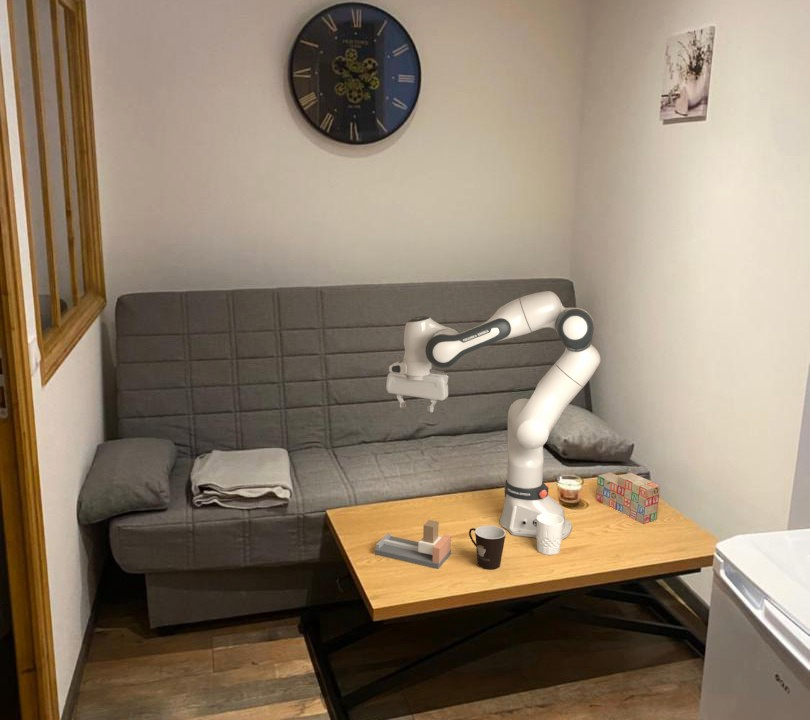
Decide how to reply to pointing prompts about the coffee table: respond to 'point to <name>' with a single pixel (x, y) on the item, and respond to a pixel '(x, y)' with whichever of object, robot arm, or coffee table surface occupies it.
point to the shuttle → (429, 537)
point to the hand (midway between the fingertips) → (416, 409)
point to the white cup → (549, 533)
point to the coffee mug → (489, 546)
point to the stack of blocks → (629, 495)
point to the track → (414, 551)
